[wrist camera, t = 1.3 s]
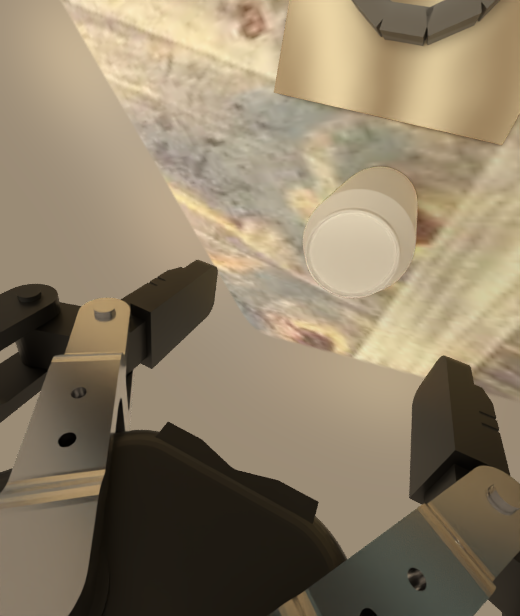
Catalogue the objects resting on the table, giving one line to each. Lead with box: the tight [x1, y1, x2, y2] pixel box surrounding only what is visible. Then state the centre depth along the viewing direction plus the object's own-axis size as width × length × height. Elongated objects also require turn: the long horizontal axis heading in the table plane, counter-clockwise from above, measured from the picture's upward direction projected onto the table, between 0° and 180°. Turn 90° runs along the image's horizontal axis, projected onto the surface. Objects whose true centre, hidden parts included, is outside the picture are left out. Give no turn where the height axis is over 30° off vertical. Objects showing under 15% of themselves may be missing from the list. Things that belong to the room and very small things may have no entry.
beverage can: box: [303, 167, 418, 298], centre depth 22 cm, size 6×6×12 cm
